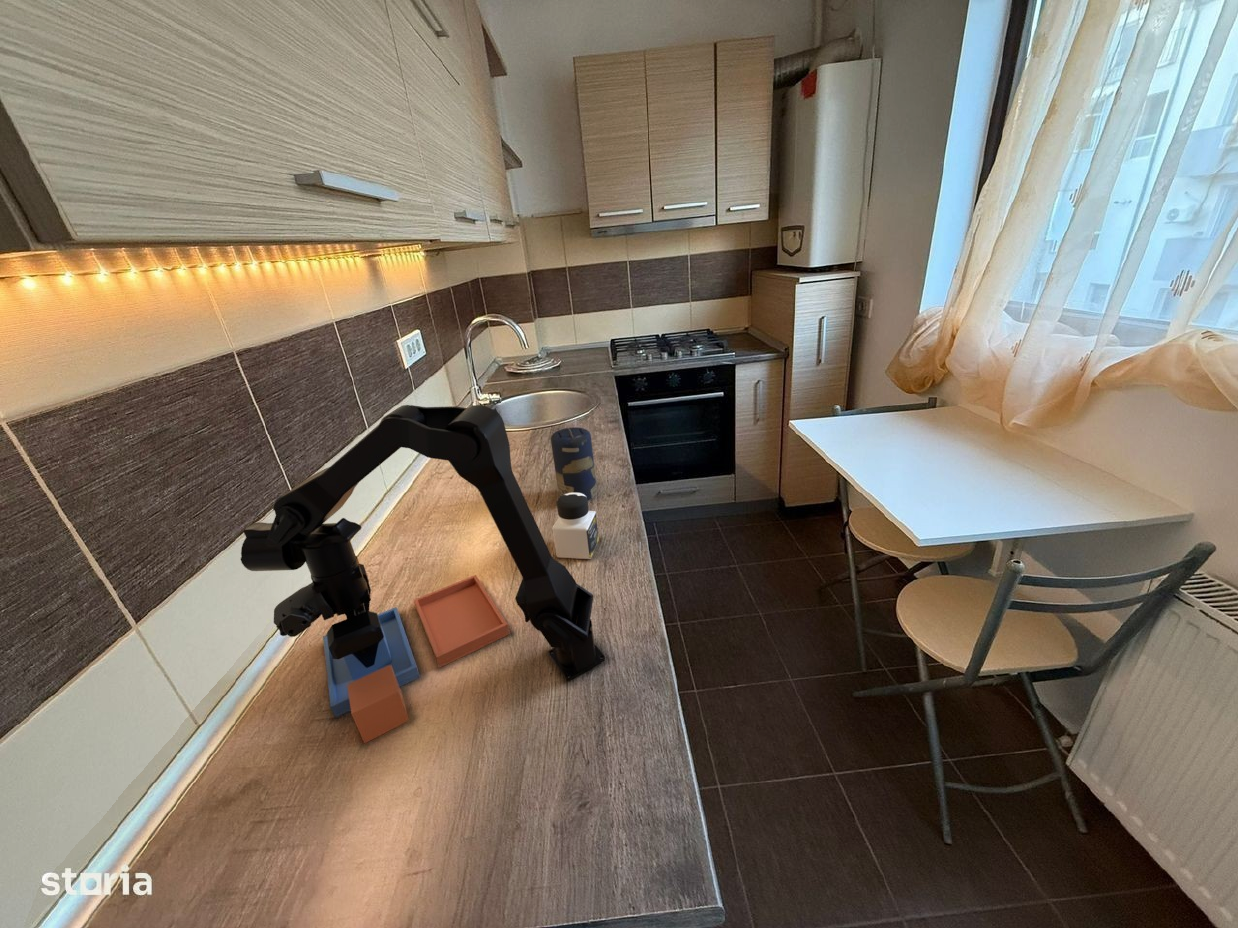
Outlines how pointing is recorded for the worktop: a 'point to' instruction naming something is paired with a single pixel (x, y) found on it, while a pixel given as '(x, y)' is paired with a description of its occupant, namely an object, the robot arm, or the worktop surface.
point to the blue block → (381, 659)
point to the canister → (574, 461)
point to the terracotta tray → (460, 619)
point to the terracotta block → (377, 703)
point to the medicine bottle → (575, 527)
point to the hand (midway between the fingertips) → (366, 648)
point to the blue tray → (400, 664)
